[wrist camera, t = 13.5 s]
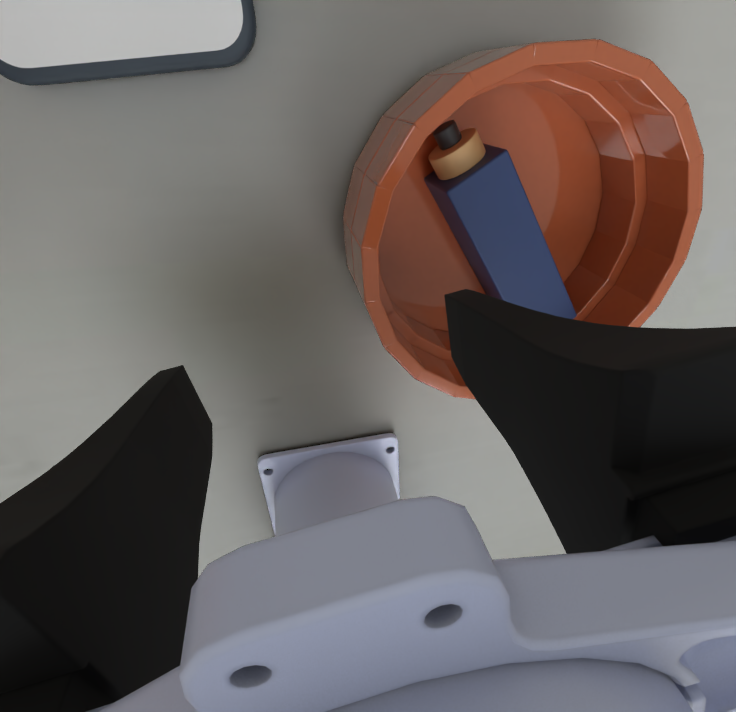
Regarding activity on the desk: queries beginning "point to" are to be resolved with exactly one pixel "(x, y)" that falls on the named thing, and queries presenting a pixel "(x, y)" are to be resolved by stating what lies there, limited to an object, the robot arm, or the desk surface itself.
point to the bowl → (529, 189)
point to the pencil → (494, 221)
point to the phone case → (120, 38)
